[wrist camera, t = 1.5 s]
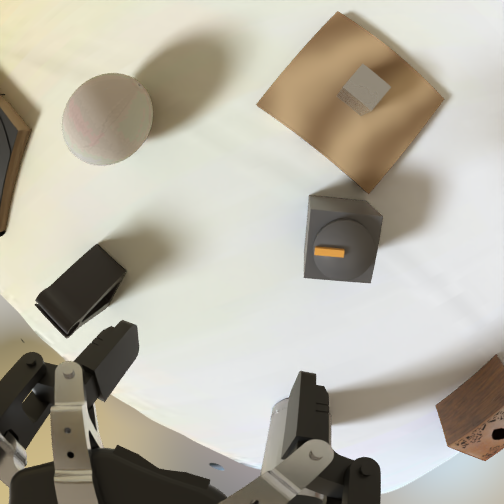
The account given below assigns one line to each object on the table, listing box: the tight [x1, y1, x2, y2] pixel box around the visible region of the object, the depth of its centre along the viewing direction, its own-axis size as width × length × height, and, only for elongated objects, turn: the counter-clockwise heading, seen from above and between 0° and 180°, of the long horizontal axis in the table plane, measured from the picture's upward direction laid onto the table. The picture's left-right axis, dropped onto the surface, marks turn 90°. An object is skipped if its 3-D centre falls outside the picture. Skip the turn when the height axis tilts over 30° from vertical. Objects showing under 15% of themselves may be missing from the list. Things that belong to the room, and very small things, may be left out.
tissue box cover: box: [435, 355, 504, 461], centre depth 31 cm, size 26×14×10 cm, turn 54°
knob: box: [304, 195, 383, 283], centre depth 25 cm, size 6×6×8 cm
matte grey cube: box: [337, 64, 391, 116], centre depth 20 cm, size 3×3×4 cm
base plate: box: [256, 11, 444, 194], centre depth 23 cm, size 14×14×2 cm
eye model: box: [62, 73, 153, 165], centre depth 24 cm, size 10×10×10 cm
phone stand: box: [35, 244, 126, 338], centre depth 32 cm, size 9×6×12 cm, turn 141°
